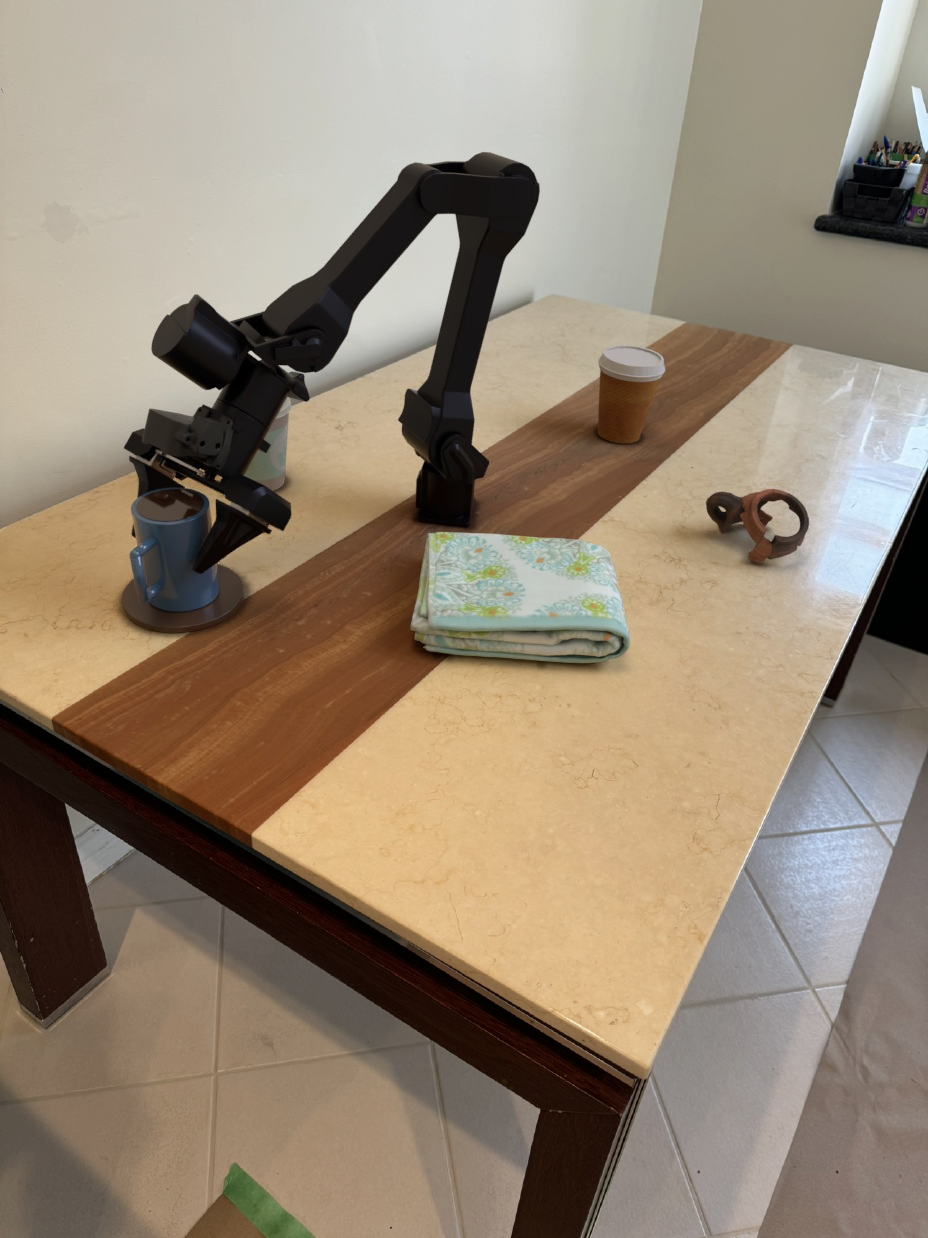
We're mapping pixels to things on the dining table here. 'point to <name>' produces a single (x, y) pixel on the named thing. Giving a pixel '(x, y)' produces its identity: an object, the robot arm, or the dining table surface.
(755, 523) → the brown double ring bracket
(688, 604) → the dining table surface
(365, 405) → the dining table surface
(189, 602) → the mug
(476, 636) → the towel
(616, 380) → the disposable coffee cup
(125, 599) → the coaster
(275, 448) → the coffee cup
